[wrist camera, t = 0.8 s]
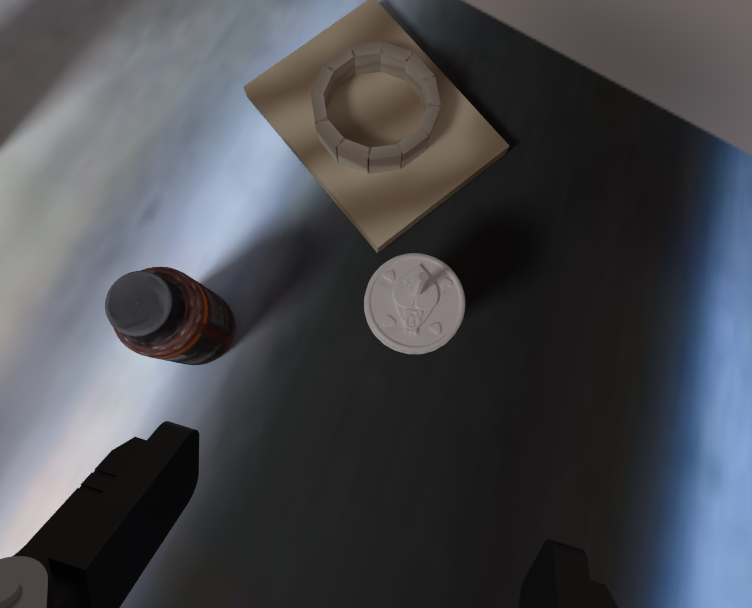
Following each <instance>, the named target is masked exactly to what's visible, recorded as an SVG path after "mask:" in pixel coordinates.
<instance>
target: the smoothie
mask: <svg viewBox="0 0 752 608" xmlns="http://www.w3.org/2000/svg"><path fill="white" fill-rule="evenodd" d="M364 311H365V315H366V319H367V323H368V325H369V326H370V328H371V330H372V332H373V333H374V335H375V336H376V337H377V338H378V339H379V340H380V341H381V342H382V343H383V344H385V345H386V346H388V347H390V348H392V349H393V350H395V351H399V352H402V353H406V354H423V353H427V352H431V351H434V350H436V349H438V348H439V347H441V346H443V345H445V344H446V343H447V342H448V341H449V340H450V339H451V338H452V337H453V336H454V335H455V333H456V331H457V329H458V328H459V326H460V324H461V322H462V319H463V316H464V311H465V296H464V291H463V288H462V285H461V283H460V281H459V279H458V277H457V276H456V274H455V273H454V272H453V271H452V269H451V268H450V267H448V266H447V265H446V264H445V263H443V262H442V261H440V260H438V259H436V258H434V257H432V256H429V255H425V254H417V253H411V254H404V255H400V256H397V257H394V258H392V259H390V260H388V261H387V262H385V263H384V264H383V265H382V266H380V267H379V268H378V269H377V271H376V272H375V273H374V275H373V276H372V278H371V280H370V281H369V284H368V286H367V290H366V294H365V297H364Z"/></svg>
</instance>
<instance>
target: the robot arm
mask: <svg viewBox="0 0 752 608" xmlns="http://www.w3.org/2000/svg"><path fill="white" fill-rule="evenodd" d="M198 473H199V432H198V431H197V430H195V429H191V428H188V427H185V426H182V425H178V424H175V423H172V422H169V421H166V422H163V423H162V424H161V425H160V426H159V427H158V428H157V429H156V430H155V432H154V433H153V434H152V435H151V436H150V437H149V439H148V440H143V439H140V438H137V437H134V438H132V439H131V440H129V441H127V442H126V443H124V444H122V445H120V446H119V447H117V448H115V449H114V450H112V451H111V452H110V453H109V454H108V455H107V456H106V458H105V459H104V460H103V461H102V462H101V463H100V464H99V465H98V466H97V467H96V469H95V471H94V473H91V474H90V475H89V476H88V477H87V478H86V479H85V481H84V482H83V483H82V484H81V487H80V488H77V489H76V490H75V492H74V493H73V494H72V495H71V496H70V497H69V498H68V499H67V500H66V501H65V502H64V504H63V505H62V506H61V507H60V508H59V509H58V510H57V511H56V512H55V513H54V515H53V516H52V517H51V518H50V519H49V520H48V521H47V522H46V523H45V524H44V526H43V527H42V528H41V529H40V530H39V531H38V532H37V533H36V534H35V535H34V536H33V538H32V539H31V540H30V541H29V542H28V543H27V544H26V545H25V546H24V547H23V548H22V549H21V550H20V551H19V552H18V553H16V554H15V555H14V556H12V557H7V558H3V559H0V608H119V607H120V606H121V604H122V603H123V601H124V600H125V598H126V597H127V595H128V594H129V592H130V591H131V589H132V588H133V586H134V585H135V583H136V582H137V580H138V579H139V577H140V576H141V574H142V572H143V571H144V569H145V568H146V566H147V565H148V563H149V562H150V560H151V559H152V557H153V556H154V554H155V553H156V551H157V550H158V548H159V547H160V545H161V544H162V542H163V541H164V539H165V537H166V536H167V534H168V533H169V531H170V530H171V528H172V527H173V525H174V524H175V522H176V521H177V519H178V518H179V516H180V515H181V513H182V512H183V510H184V509H185V507H186V506H187V504H188V502H189V501H190V499H191V497H192V495H193V493H194V490H195V487H196V484H197V480H198ZM519 608H618V607H617V605H616V603H615V601H614V600H613V598H612V596H611V594H610V592H609V590H608V588H607V586H606V585H604V584H601V583H598V582H595V581H591V580H590V574H589V567H588V560H587V556H586V553H585V552H584V550H582V549H579V548H575V547H572V546H569V545H566V544H562V543H559V542H556V541H553V540H549V539H548V540H546V541H545V542H544V544H543V546H542V548H541V549H540V551H539V553H538V555H537V557H536V559H535V560H534V562H533V564H532V566H531V568H530V570H529V571H528V573H527V575H526V577H525V579H524V581H523V584H522V587H521V592H520V597H519Z"/></svg>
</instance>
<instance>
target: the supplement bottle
mask: <svg viewBox="0 0 752 608" xmlns="http://www.w3.org/2000/svg"><path fill="white" fill-rule="evenodd" d="M105 310H106V315H107V318H108V319H109V321H110V323H111V325H112V326H113V327H114V330H115V332H116V334H117V336H118V338H119V339H120V340H121V342H122V343H123V344H124V345H125V346H126V347H128V348H129V349H131V350H132V351H134V352H136V353H138V354H141V355H144V356H148V357H152V358H157V359H162V360H166V361H172V362H177V363H182V364H188V365H202V364H206V363H209V362H211V361H213V360H216V359H217V358H218V357H220V356H221V355H222V354H223V353H224V352H225V351H226V350H227V349H228V347H229V345H230V344H231V342H232V339H233V336H234V332H235V321H234V316H233V313H232V311H231V309H230V307H229V306H228V305H227V303H226V302H225V301H224V300H223V299H222V298H221V297H219V296H218V295H216V294H215V293H213V292H212V291H210V290H209V289H207V288H206V287H204V286H203V285H201V284H200V283H198V282H197V281H195V280H194V279H192V278H191V277H189V276H188V275H186V274H184V273H183V272H180V271H178V270H175V269H172V268H168V267H152V268H147V269H144V270H141V271H135V272H131V273H128V274H126V275H124V276H122V277H121V278H119V279H118V280H117V281H116V282H115V283H114V284H113V285H112V286H111V288H110V290H109V292H108V294H107V298H106V302H105Z"/></svg>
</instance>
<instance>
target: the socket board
mask: <svg viewBox="0 0 752 608" xmlns="http://www.w3.org/2000/svg"><path fill="white" fill-rule="evenodd" d="M244 90H245V92H246V95H247V97H248V98H249V100H250V101H251V102H252V103H253V104H254V106H255V107H256V108H257V109H258V110H259V112H260V113H261V114H262V115H263V116H264V118H265V119H266V120H267V121H268V122H269V124H270V125H271V126H272V127H273V128H274V130H275V131H276V132H277V133H278V134H279V136H280V137H281V138H282V139H283V140H284V142H285V143H286V144H287V145H288V146H289V148H290V149H291V150H292V151H293V152H294V154H295V155H296V156H297V157H298V158H299V160H300V161H301V162H302V163H303V164H304V166H305V167H306V168H307V169H308V170H309V172H310V173H311V174H312V175H313V176H314V178H315V179H316V180H317V181H318V182H319V184H320V185H321V186H322V187H323V188H324V190H325V191H326V192H327V193H328V194H329V196H330V197H331V198H332V199H333V200H334V202H335V203H336V204H337V205H338V206H339V208H340V209H341V210H342V211H343V212H344V214H345V215H346V216H347V217H348V218H349V220H350V221H351V222H352V223H353V224H354V226H355V227H356V228H357V229H358V230H359V232H360V233H361V234H362V235H363V236H364V238H365V239H366V240H367V241H368V242H369V244H370V245H371V246H372V247H373V248H374V250H375V251H376V252H377V253H378V252H380V251H381V250H382V249H384V248H385V247H386V246H387V245H389V244H390V243H391V242H393V241H394V240H395V239H396V238H398V237H399V236H400V235H402V234H403V233H404V232H405V231H407V230H408V229H409V228H411V227H412V226H413V225H415V224H416V223H417V222H418V221H420V220H421V219H422V218H424V217H425V216H426V215H427V214H429V213H430V212H431V211H433V210H434V209H435V208H436V207H438V206H439V205H440V204H442V203H443V202H444V201H445V200H447V199H448V198H449V197H451V196H452V195H453V194H455V193H456V192H457V191H458V190H460V189H461V188H462V187H464V186H465V185H466V184H467V183H469V182H470V181H471V180H473V179H474V178H475V177H476V176H478V175H479V174H480V173H482V172H483V171H484V170H486V169H487V168H488V167H489V166H491V165H492V164H493V163H495V162H496V161H497V160H498V159H500V158H501V157H502V156H504V155H505V153H506V152H507V150H508V148H509V145H508V144H507V143H506V142H505V141H504V139H503V138H502V137H501V136H500V135H499V134H498V133H497V132H496V131H495V130H494V128H493V127H492V126H491V125H490V124H489V123H488V122H487V121H486V120H485V119H484V118H483V116H482V115H481V114H480V113H479V112H478V111H477V110H476V109H475V108H474V107H473V105H472V104H471V103H470V102H469V101H468V100H467V99H466V98H465V97H464V96H463V95H462V93H461V92H460V91H459V90H458V89H457V88H456V87H455V86H454V85H453V84H452V82H451V81H450V80H449V79H448V78H447V77H446V76H445V75H444V74H443V73H442V72H441V70H440V69H439V68H438V67H437V66H436V65H435V64H434V63H433V62H432V61H431V59H430V58H429V57H428V56H427V55H426V54H425V53H424V52H423V51H422V50H421V48H420V47H419V46H418V45H417V44H416V43H415V42H414V41H413V40H412V39H411V38H410V36H409V35H408V34H407V33H406V32H405V31H404V30H403V29H402V28H401V27H400V25H399V24H398V23H397V22H396V21H395V20H394V19H393V18H392V17H391V16H390V15H389V13H388V12H387V11H386V10H385V9H384V8H383V7H382V6H381V5H380V4H379V2H378V1H377V0H368V1H366V2H365V3H363V4H362V5H360V6H359V7H357V8H356V9H355V10H353V11H352V12H350V13H349V14H347V15H346V16H345V17H343V18H342V19H340V20H339V21H337V22H336V23H334V24H333V25H332V26H330V27H329V28H327V29H326V30H324V31H323V32H322V33H320V34H319V35H317V36H316V37H314V38H313V39H311V40H310V41H309V42H307V43H306V44H304V45H303V46H301V47H300V48H299V49H297V50H296V51H294V52H293V53H291V54H290V55H288V56H287V57H286V58H284V59H283V60H281V61H280V62H278V63H277V64H275V65H274V66H273V67H271V68H270V69H268V70H267V71H265V72H264V73H263V74H261V75H260V76H258V77H257V78H255V79H254V80H252V81H251V82H250V83H248V84H247V85H245V86H244Z"/></svg>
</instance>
